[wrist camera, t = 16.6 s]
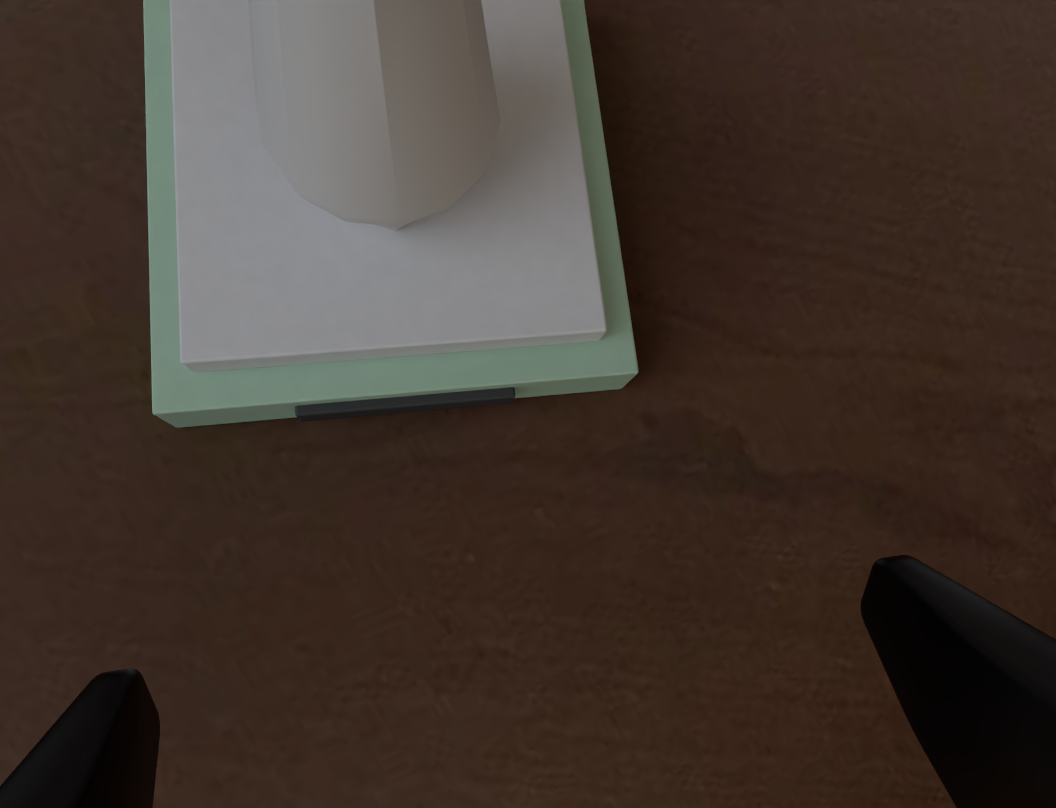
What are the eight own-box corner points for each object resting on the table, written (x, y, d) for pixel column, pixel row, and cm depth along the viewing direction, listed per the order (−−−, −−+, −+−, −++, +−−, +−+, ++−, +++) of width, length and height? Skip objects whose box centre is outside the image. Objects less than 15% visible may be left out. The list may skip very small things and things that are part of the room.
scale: (624, 398, 24) (651, 374, 21) (175, 438, 22) (137, 418, 19) (569, 16, 26) (586, -53, 24) (164, 22, 25) (129, -51, 22)
